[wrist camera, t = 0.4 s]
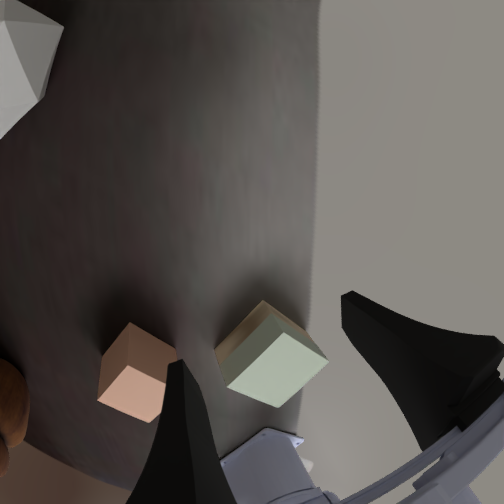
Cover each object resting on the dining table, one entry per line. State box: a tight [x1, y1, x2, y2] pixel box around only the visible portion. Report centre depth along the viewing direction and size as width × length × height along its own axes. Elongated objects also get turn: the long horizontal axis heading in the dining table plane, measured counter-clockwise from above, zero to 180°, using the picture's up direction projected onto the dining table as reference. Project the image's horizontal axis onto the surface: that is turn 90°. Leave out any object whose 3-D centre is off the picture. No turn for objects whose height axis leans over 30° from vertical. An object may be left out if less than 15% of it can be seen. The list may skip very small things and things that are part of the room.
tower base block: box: [214, 300, 314, 365], centre depth 25 cm, size 6×6×2 cm
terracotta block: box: [97, 322, 177, 423], centre depth 21 cm, size 4×4×5 cm
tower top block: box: [219, 313, 329, 408], centre depth 23 cm, size 6×6×2 cm
